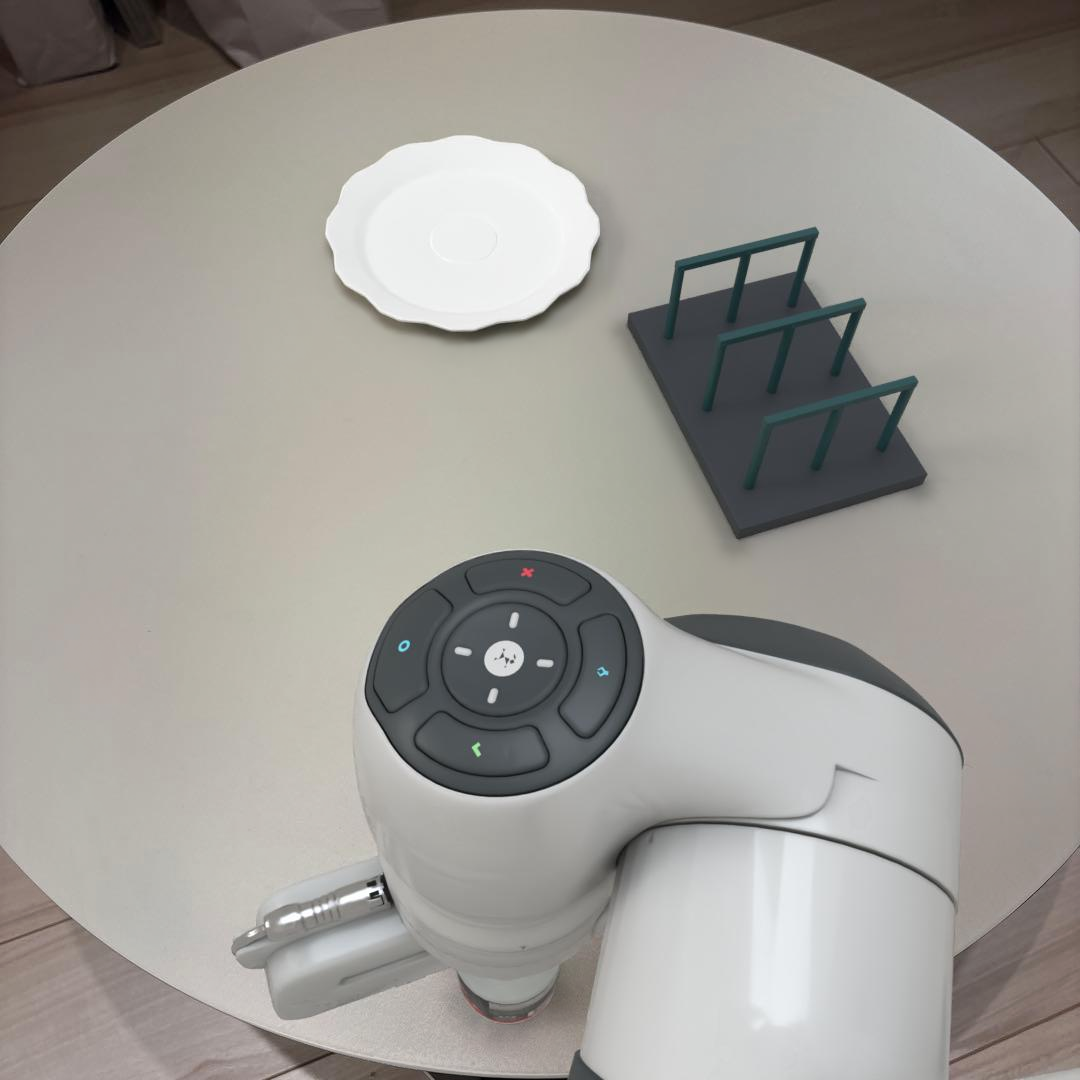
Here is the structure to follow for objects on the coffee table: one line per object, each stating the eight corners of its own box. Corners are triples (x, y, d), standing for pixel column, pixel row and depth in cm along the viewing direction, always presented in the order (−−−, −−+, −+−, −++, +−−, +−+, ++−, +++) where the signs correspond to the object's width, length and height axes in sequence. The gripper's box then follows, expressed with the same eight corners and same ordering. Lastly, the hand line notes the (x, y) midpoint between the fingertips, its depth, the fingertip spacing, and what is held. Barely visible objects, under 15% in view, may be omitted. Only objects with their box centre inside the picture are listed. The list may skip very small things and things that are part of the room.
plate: (651, 240, 90) (653, 224, 89) (462, 388, 82) (461, 373, 81) (465, 118, 97) (464, 101, 96) (275, 242, 89) (271, 226, 88)
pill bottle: (447, 936, 62) (436, 889, 54) (541, 908, 63) (546, 857, 55) (472, 1040, 59) (465, 1007, 51) (571, 1009, 60) (580, 971, 52)
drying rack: (923, 484, 78) (964, 406, 71) (737, 539, 76) (760, 465, 68) (795, 281, 88) (820, 195, 81) (626, 324, 85) (636, 239, 78)
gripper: (238, 1031, 38) (300, 1080, 50) (788, 838, 42) (725, 925, 54) (203, 854, 41) (269, 939, 53) (719, 689, 45) (674, 802, 57)
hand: (503, 931), depth 54 cm, fingers open, 8 cm apart
